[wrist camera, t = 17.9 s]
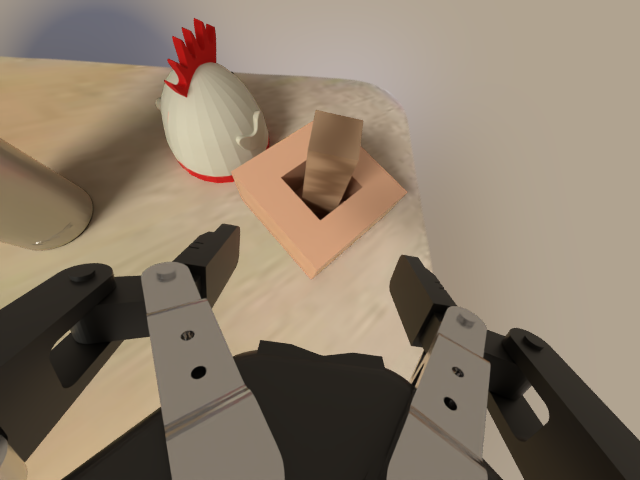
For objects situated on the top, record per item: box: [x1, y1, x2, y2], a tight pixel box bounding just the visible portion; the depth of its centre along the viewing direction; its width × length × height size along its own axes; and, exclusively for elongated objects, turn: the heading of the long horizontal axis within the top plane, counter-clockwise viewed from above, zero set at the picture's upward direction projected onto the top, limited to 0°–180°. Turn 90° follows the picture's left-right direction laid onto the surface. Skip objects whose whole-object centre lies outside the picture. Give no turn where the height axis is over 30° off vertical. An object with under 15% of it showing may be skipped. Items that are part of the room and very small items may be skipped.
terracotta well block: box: [231, 121, 407, 280], centre depth 32 cm, size 15×15×7 cm
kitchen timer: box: [155, 18, 269, 183], centre depth 29 cm, size 14×14×15 cm
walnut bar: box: [302, 110, 363, 220], centre depth 27 cm, size 4×4×14 cm
